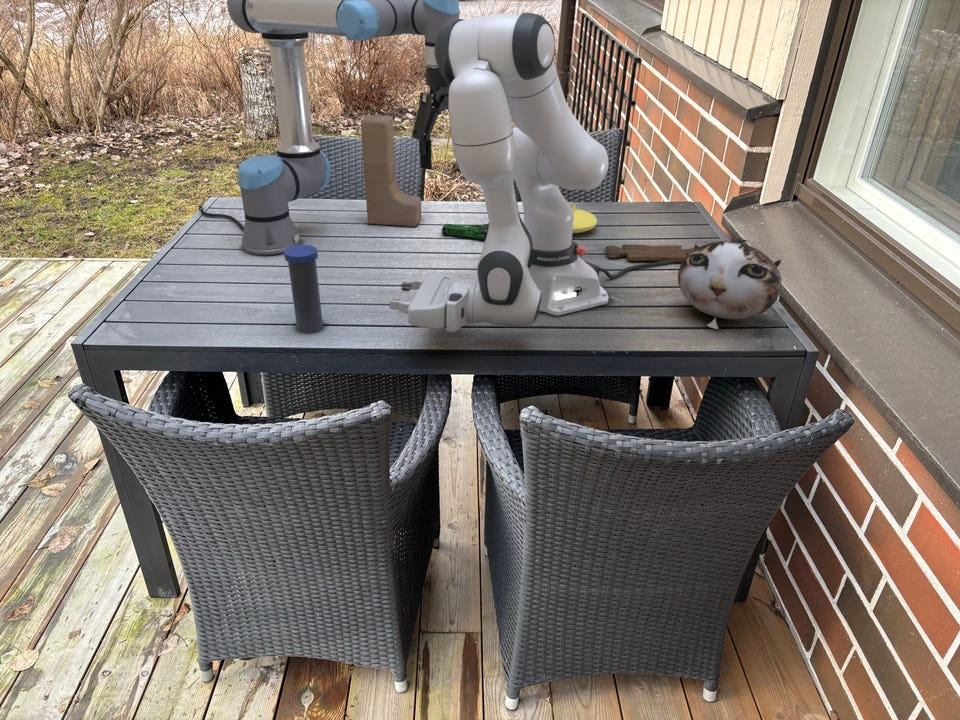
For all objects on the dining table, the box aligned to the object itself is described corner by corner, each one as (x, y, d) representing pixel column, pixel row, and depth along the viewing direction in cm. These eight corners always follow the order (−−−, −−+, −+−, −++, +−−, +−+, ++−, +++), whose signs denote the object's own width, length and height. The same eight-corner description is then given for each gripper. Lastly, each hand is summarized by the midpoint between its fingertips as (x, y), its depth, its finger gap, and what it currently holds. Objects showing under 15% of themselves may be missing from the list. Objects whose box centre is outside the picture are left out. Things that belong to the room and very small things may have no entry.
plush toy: (655, 305, 156) (684, 221, 158) (671, 327, 172) (697, 250, 173) (760, 330, 146) (790, 239, 147) (766, 351, 161) (793, 268, 163)
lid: (287, 251, 151) (286, 244, 150) (319, 251, 151) (318, 244, 151) (282, 264, 145) (281, 257, 144) (316, 263, 146) (315, 256, 145)
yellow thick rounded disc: (559, 216, 220) (561, 193, 217) (605, 227, 212) (608, 204, 209) (532, 230, 209) (533, 207, 206) (580, 242, 201) (582, 218, 198)
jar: (298, 321, 159) (289, 247, 150) (324, 320, 159) (316, 247, 150) (295, 333, 154) (285, 258, 145) (321, 332, 154) (313, 257, 146)
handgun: (511, 219, 210) (493, 234, 198) (511, 228, 211) (492, 244, 199) (461, 212, 215) (440, 226, 203) (461, 221, 217) (440, 236, 204)
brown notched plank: (705, 264, 190) (697, 250, 198) (707, 258, 189) (698, 245, 198) (608, 261, 190) (604, 247, 199) (609, 255, 189) (605, 241, 198)
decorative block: (416, 227, 210) (413, 122, 195) (367, 224, 212) (359, 120, 196) (422, 218, 216) (419, 116, 201) (373, 215, 218) (367, 114, 203)
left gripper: (421, 75, 148) (424, 176, 159) (486, 61, 166) (485, 153, 177) (393, 71, 151) (397, 171, 162) (460, 58, 169) (460, 148, 180)
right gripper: (470, 267, 155) (407, 262, 156) (453, 306, 137) (383, 300, 139) (469, 294, 158) (408, 288, 159) (452, 336, 140) (384, 329, 142)
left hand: (443, 161), depth 169 cm, fingers open, 13 cm apart
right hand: (396, 294), depth 149 cm, fingers open, 8 cm apart
